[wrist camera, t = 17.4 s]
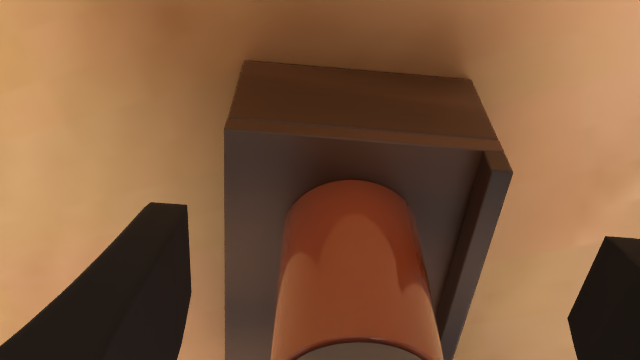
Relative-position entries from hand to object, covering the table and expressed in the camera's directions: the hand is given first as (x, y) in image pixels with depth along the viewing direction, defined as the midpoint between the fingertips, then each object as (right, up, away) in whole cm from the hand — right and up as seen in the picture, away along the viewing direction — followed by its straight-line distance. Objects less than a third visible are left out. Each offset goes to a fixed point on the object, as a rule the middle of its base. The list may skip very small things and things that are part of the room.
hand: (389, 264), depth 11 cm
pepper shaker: (0, 0, +7) cm, 7 cm away
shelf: (-1, -1, +13) cm, 13 cm away
